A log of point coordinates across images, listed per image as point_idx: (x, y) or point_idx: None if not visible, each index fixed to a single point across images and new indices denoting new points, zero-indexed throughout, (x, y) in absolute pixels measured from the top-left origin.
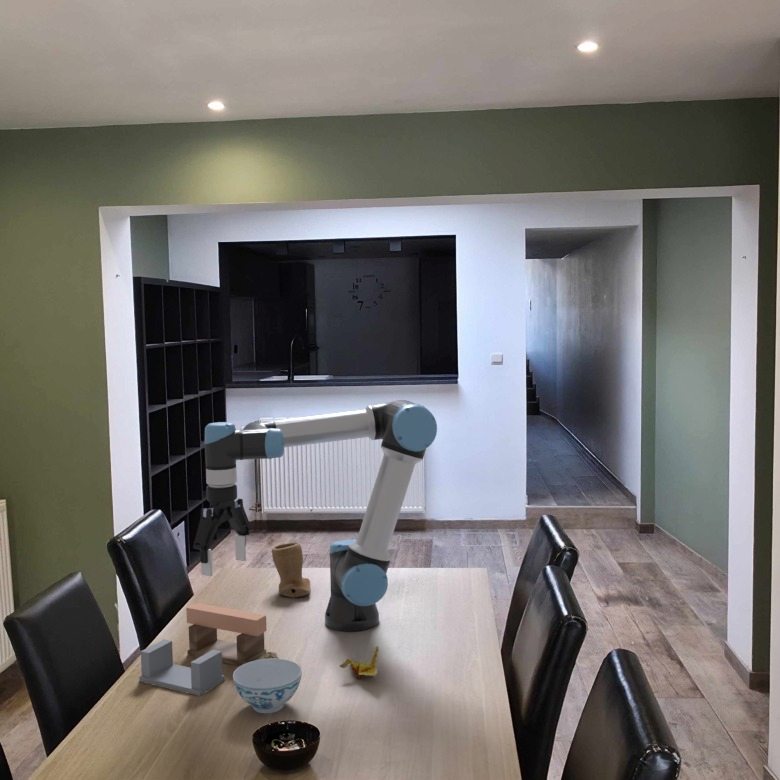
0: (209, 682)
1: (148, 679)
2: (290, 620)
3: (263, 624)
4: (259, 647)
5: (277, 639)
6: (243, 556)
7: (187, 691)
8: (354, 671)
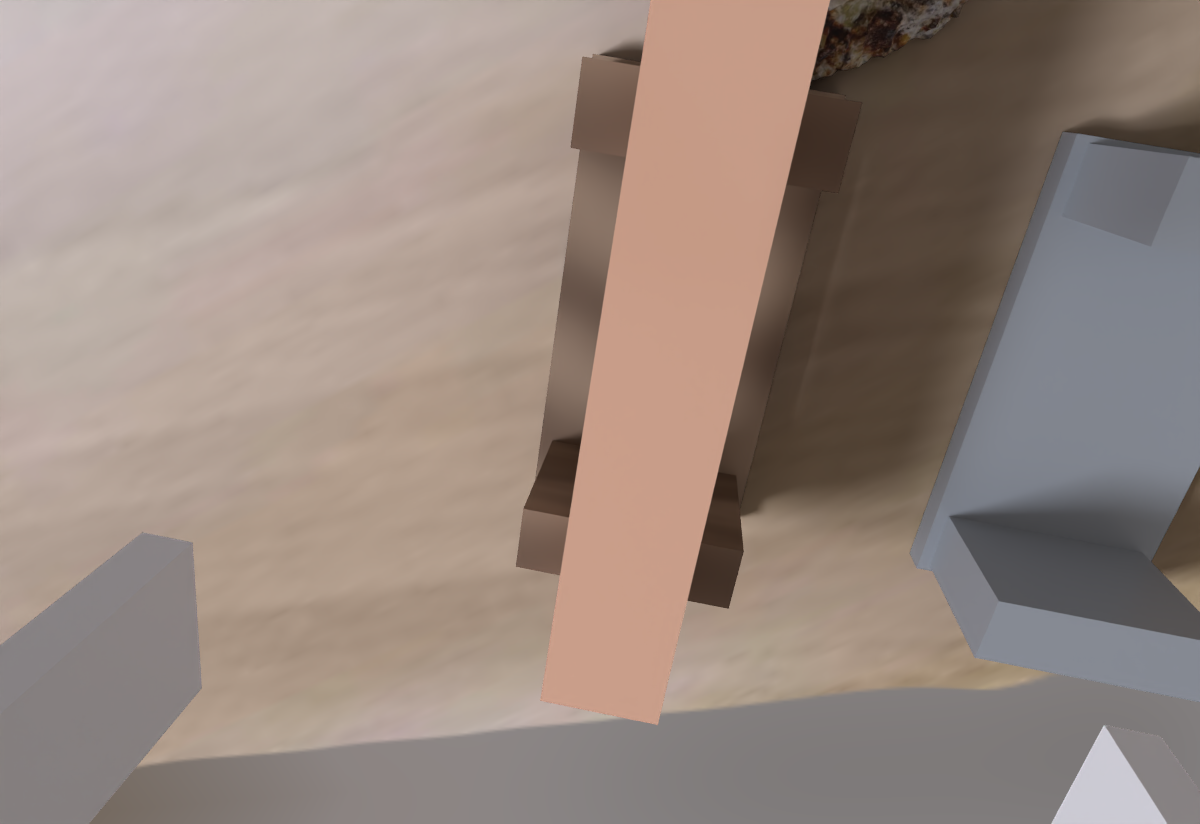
0: None
1: (1153, 550)
2: (52, 161)
3: None
4: None
5: (357, 97)
6: (136, 604)
7: None
8: None
